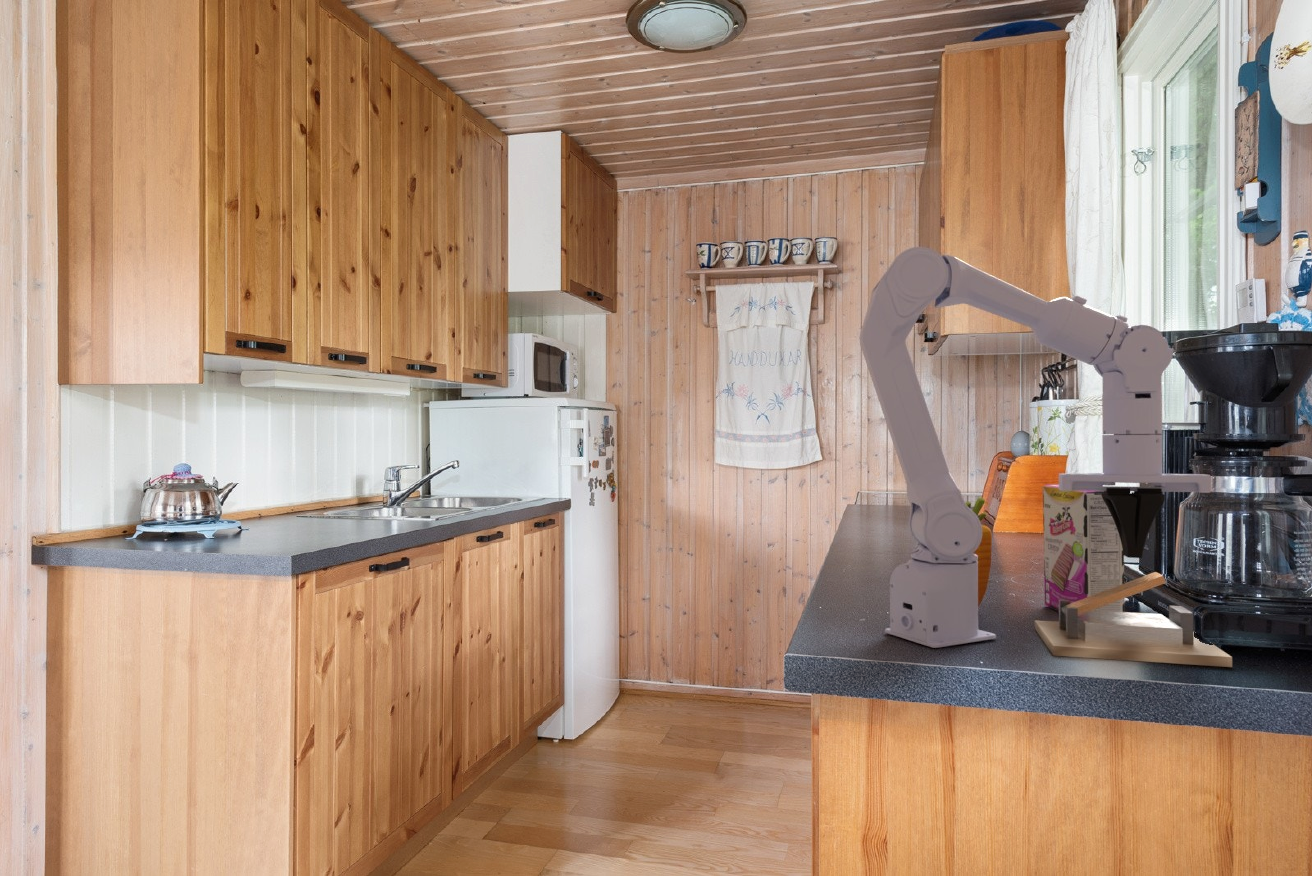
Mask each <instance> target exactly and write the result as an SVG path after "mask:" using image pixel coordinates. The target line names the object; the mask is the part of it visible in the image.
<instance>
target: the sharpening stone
mask: <svg viewBox="0 0 1312 876" xmlns="http://www.w3.org/2000/svg"><path fill="white" fill-rule="evenodd" d="M1068 604H1070V601H1069V600H1060V599H1059V612H1058V622H1059V629H1060V630H1066V637H1067V639H1078V635H1079V636H1080V637H1081V638H1082V639H1083V640H1084V641H1085V642H1090V643H1107V644H1123V645H1140V646H1156V647H1173V648H1183V644H1187V645H1194V632H1195V631H1194V629H1195V628H1194V613H1193V612H1192V611H1190V610H1189V609H1187V608H1185V607H1184V606H1183V605H1169V606H1168V617H1166V616H1164V615H1163V614H1162V613H1147V612H1130V611H1129V612H1128V611H1125V612H1111V611H1088V612H1086V613H1083V614H1080V615H1078V609H1077V608H1076V607H1066V615H1065V614H1064V613H1063V612H1062V610H1061V608H1062V607H1063V606H1064V605H1068Z"/></svg>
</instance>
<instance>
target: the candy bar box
mask: <svg viewBox="0 0 1312 876" xmlns="http://www.w3.org/2000/svg"><path fill="white" fill-rule="evenodd" d="M1101 492H1102V491H1061V490H1059V484H1046V485H1042V506H1043V508H1042V509H1043V510H1042V513H1043V514H1042V515H1043V516H1042V517H1043V520H1042V521H1043V522H1042V523H1043V563H1044V564H1043V565H1044V568H1043V569H1044V571H1043V575H1044V577H1043V578H1044V606H1046V607H1048V608H1051V609H1053V610H1055V611H1056V612H1058V613H1059V599H1060V600H1069V601H1070V604H1071V603H1073V602H1076V601H1079V600H1081V599H1084V598H1087V597H1089V596H1092V595H1095V594H1097V593H1100V592H1103V591H1105V590H1108V589H1111V588H1113V587H1116V586H1119V585H1122V584H1124V583H1125V558H1124V557H1125V556H1124V555H1123V548H1122V544H1121V540H1120V536H1119V533H1118V530H1117V527H1116V525H1115V522H1114V520H1113V518H1112V515H1111V513H1110V511H1109V509H1108V507H1107V506H1106V504H1105V502H1104V500H1103V498H1102V495H1101ZM1125 599H1126V598H1124V599H1121V600H1118V601H1115V602H1113V603H1110V604H1107V605H1105V606H1102V607H1099V608H1096V609H1094V610H1091V611H1111V612H1126V610H1125V608H1126V607H1125V604H1126V603H1125V601H1126V600H1125Z"/></svg>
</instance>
